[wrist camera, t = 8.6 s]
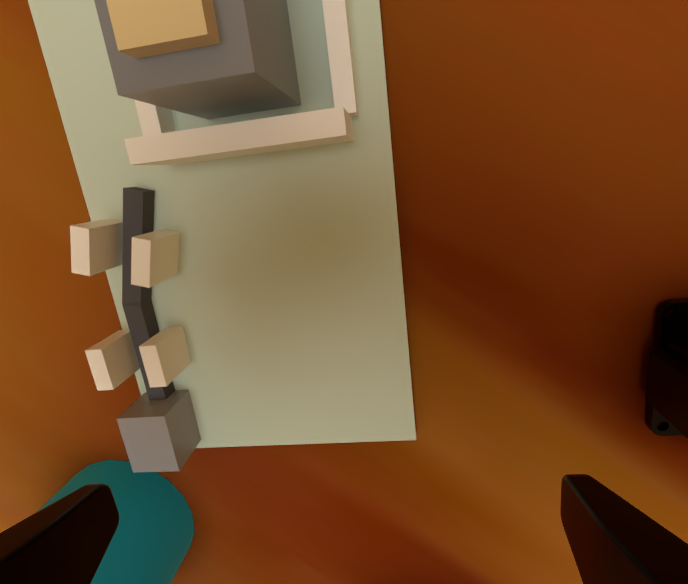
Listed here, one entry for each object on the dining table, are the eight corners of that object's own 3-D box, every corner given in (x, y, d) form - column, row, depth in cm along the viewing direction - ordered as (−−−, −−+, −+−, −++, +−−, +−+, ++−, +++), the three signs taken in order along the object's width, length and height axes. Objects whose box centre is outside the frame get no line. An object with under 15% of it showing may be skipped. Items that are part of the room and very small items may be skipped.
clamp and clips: (174, 210, 18) (144, 216, 16) (227, 438, 22) (208, 470, 19) (87, 221, 19) (46, 228, 17) (150, 441, 22) (123, 472, 20)
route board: (369, -117, 15) (368, -129, 14) (415, 432, 21) (416, 439, 21) (26, -42, 17) (13, -49, 16) (162, 442, 23) (156, 449, 22)
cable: (153, 184, 18) (141, 185, 17) (202, 390, 21) (194, 399, 20) (104, 190, 19) (90, 192, 18) (159, 392, 21) (150, 402, 21)
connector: (285, -9, 16) (210, -135, 9) (301, 105, 17) (244, 64, 10) (186, 10, 16) (49, -96, 10) (208, 119, 17) (98, 89, 11)
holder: (339, -75, 15) (327, -133, 12) (361, 139, 17) (355, 133, 14) (120, -29, 16) (62, -72, 13) (165, 166, 18) (122, 165, 15)
